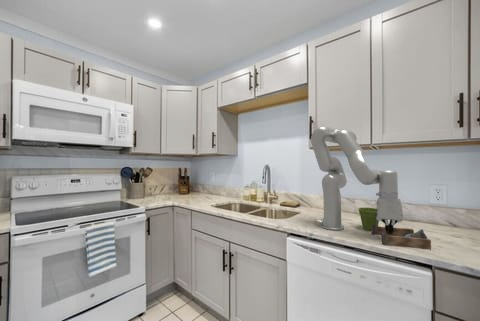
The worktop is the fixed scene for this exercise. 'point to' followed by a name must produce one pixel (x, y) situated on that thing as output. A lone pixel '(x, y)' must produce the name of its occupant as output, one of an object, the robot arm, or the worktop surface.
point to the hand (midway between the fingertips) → (389, 233)
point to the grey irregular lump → (417, 234)
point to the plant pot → (368, 217)
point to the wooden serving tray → (401, 238)
